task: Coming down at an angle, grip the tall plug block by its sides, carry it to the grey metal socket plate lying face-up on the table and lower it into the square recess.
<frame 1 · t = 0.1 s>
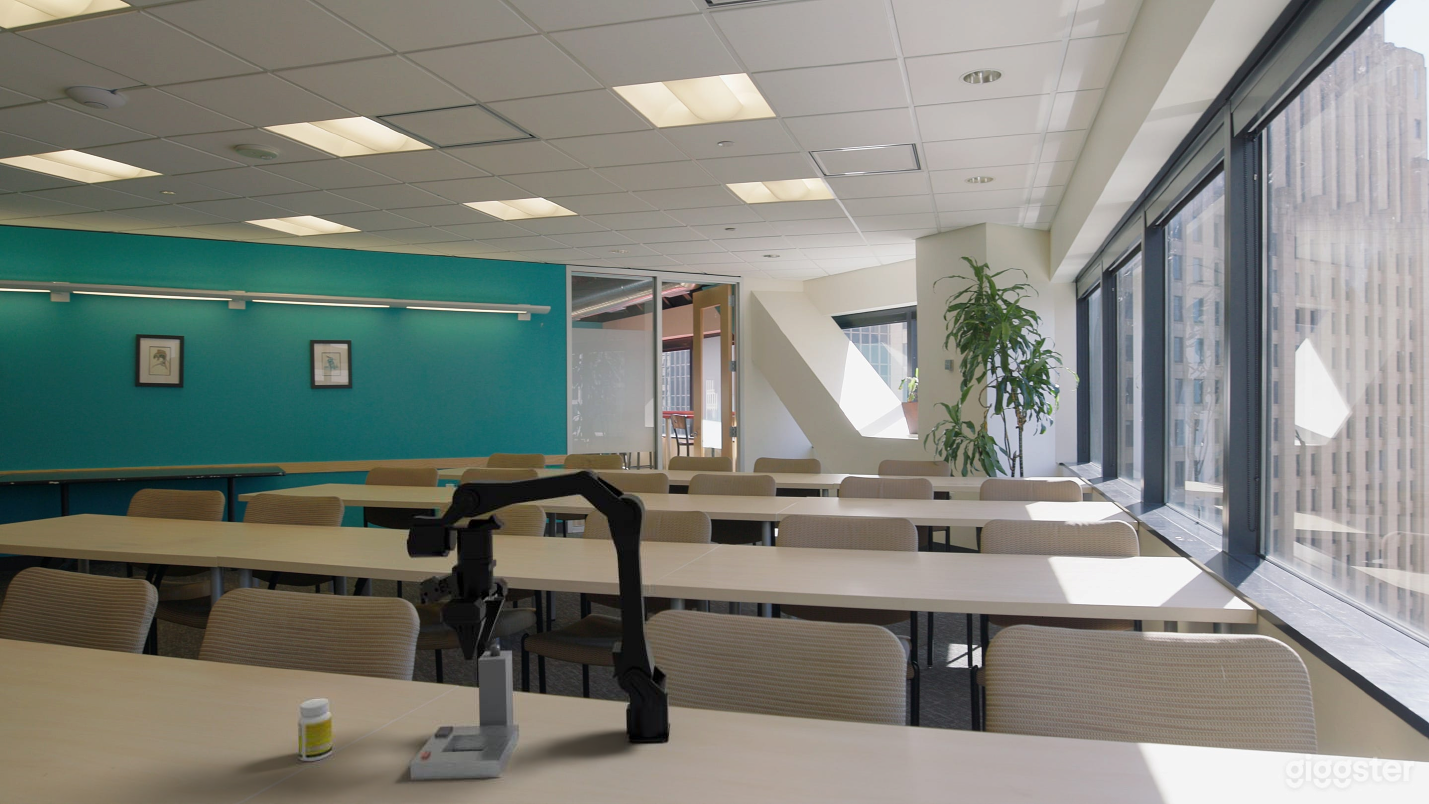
hand: (476, 651, 131), 15 cm above the table, tool pointing down, fingers open, 9 cm apart
supplement bottle: (315, 756, 126), on the table
socket: (467, 758, 124), on the table
plug: (497, 732, 134), on the table
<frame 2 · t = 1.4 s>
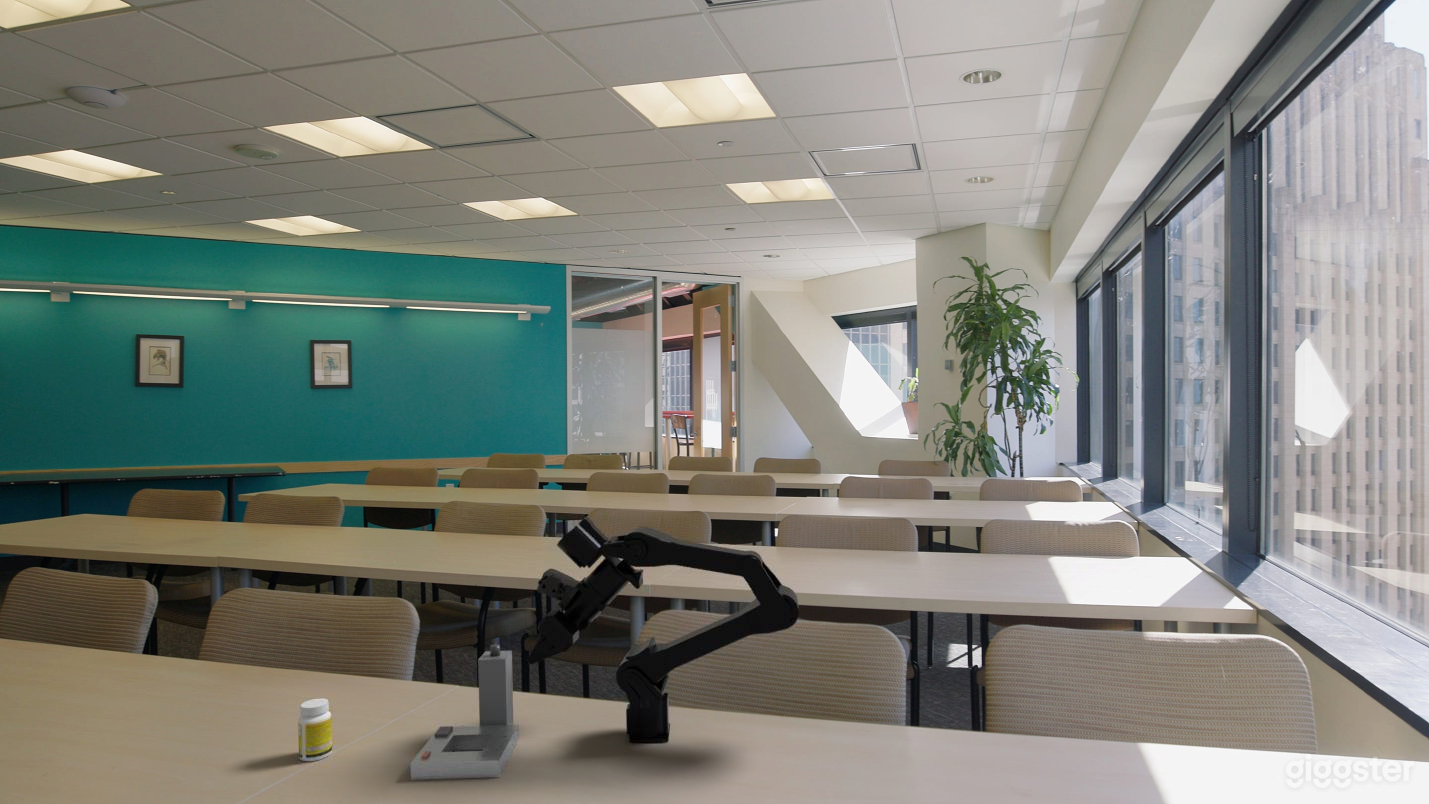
hand: (538, 653, 133), 13 cm above the table, tool tilted 45°, fingers open, 9 cm apart
nothing on the table moved.
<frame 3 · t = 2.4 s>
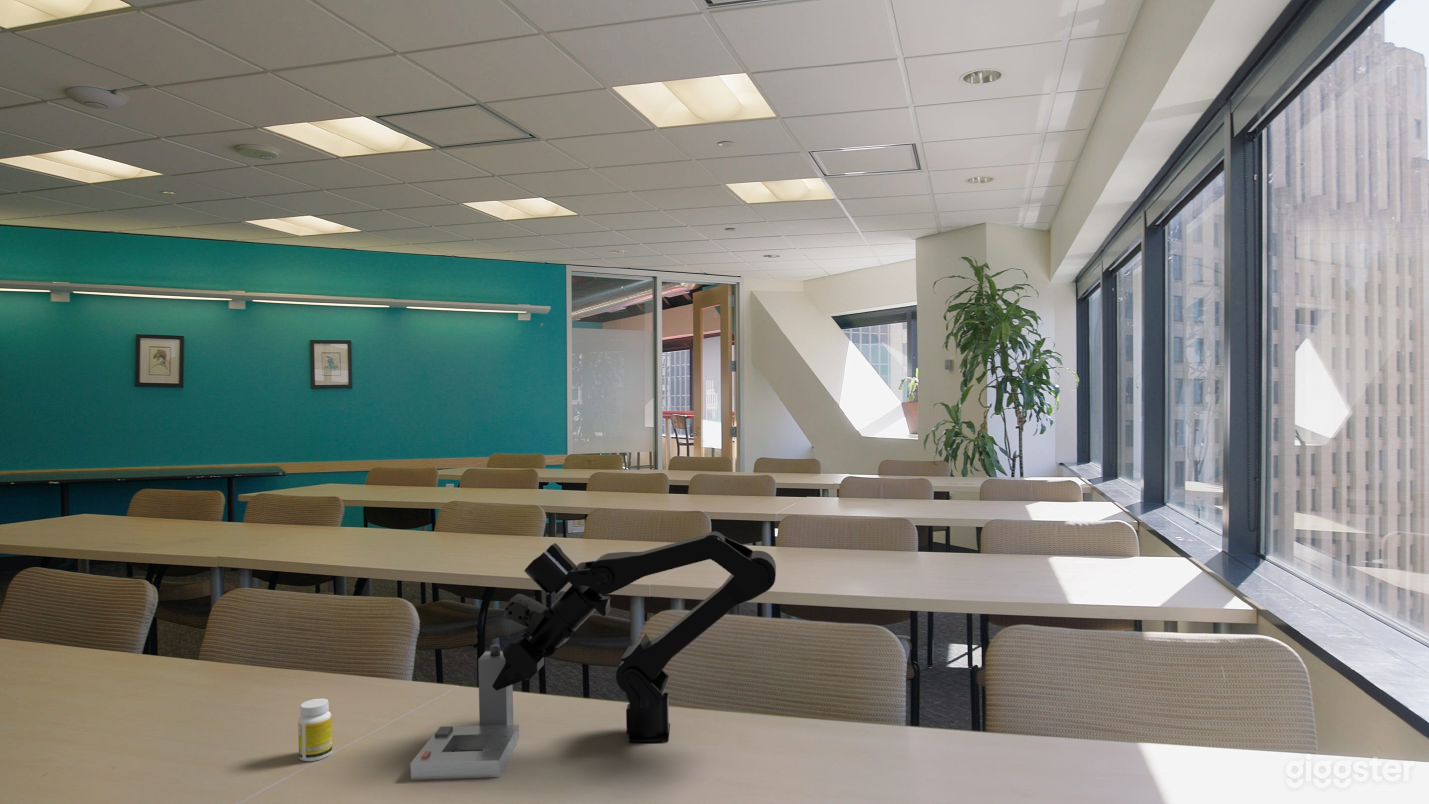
hand: (504, 678, 134), 9 cm above the table, tool tilted 45°, fingers open, 9 cm apart
nothing on the table moved.
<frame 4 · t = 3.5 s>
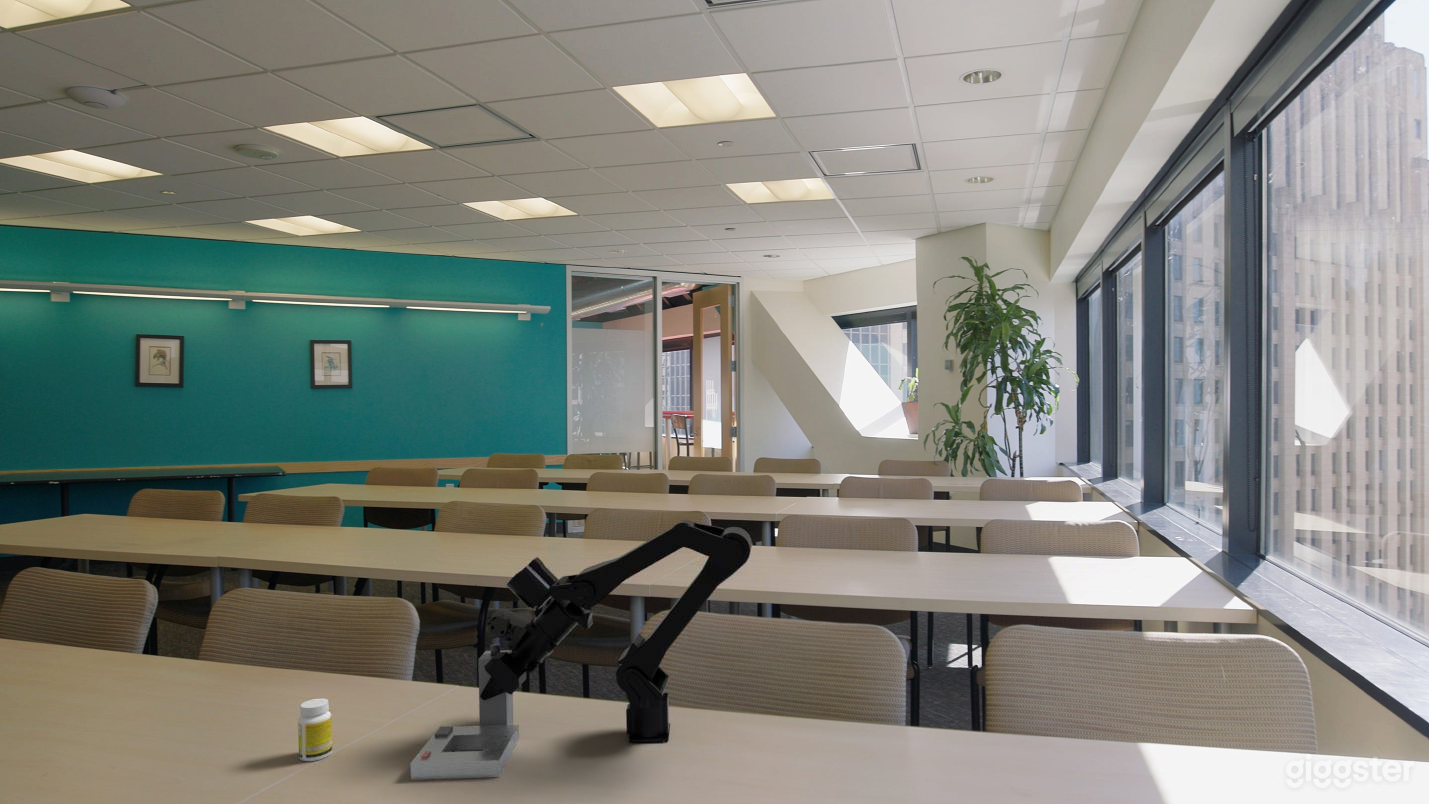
hand: (487, 692, 134), 7 cm above the table, tool tilted 45°, fingers closed on plug, 5 cm apart
plug: (496, 731, 134), on the table, touching gripper
everything else where it was.
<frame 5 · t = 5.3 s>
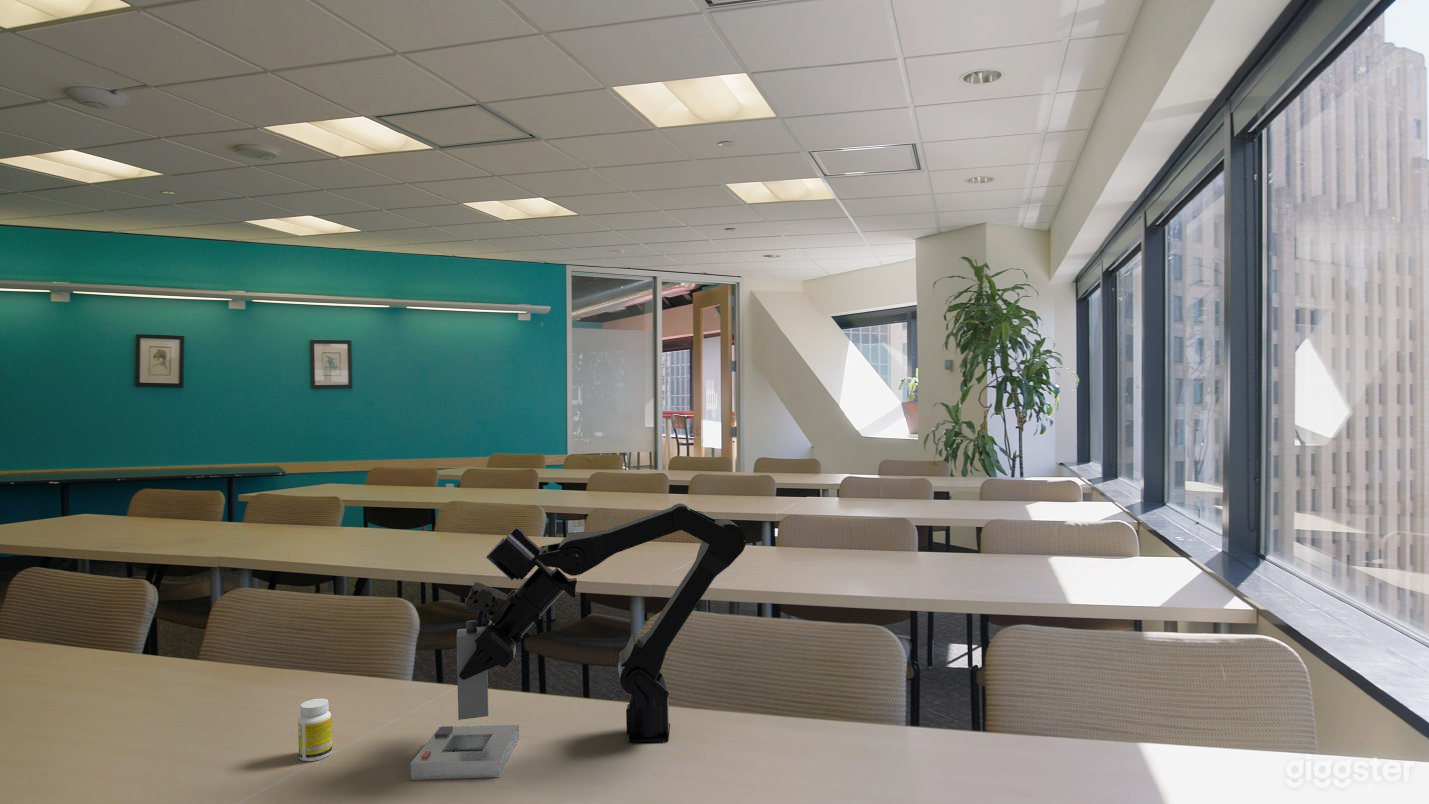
hand: (463, 672, 127), 13 cm above the table, tool tilted 45°, fingers closed on plug, 5 cm apart
plug: (473, 712, 127), point 6 cm above the table, touching gripper
everything else where it was.
when the fingers open (9 cm above the table, at t = 6.7 s): plug drops 2 cm, resting in socket.
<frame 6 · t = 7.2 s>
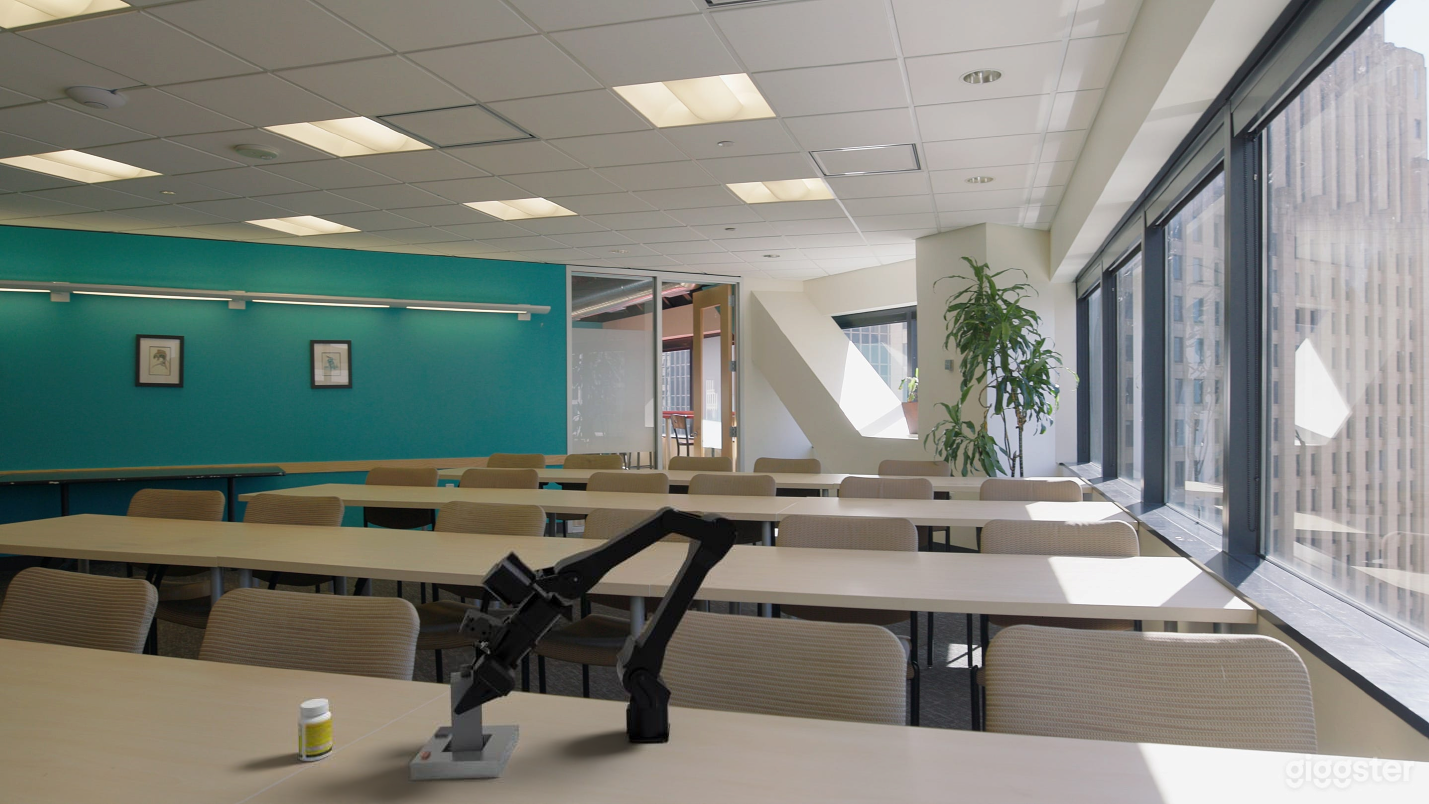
hand: (457, 702, 123), 9 cm above the table, tool tilted 45°, fingers open, 9 cm apart
plug: (468, 758, 124), resting in socket
everything else where it was.
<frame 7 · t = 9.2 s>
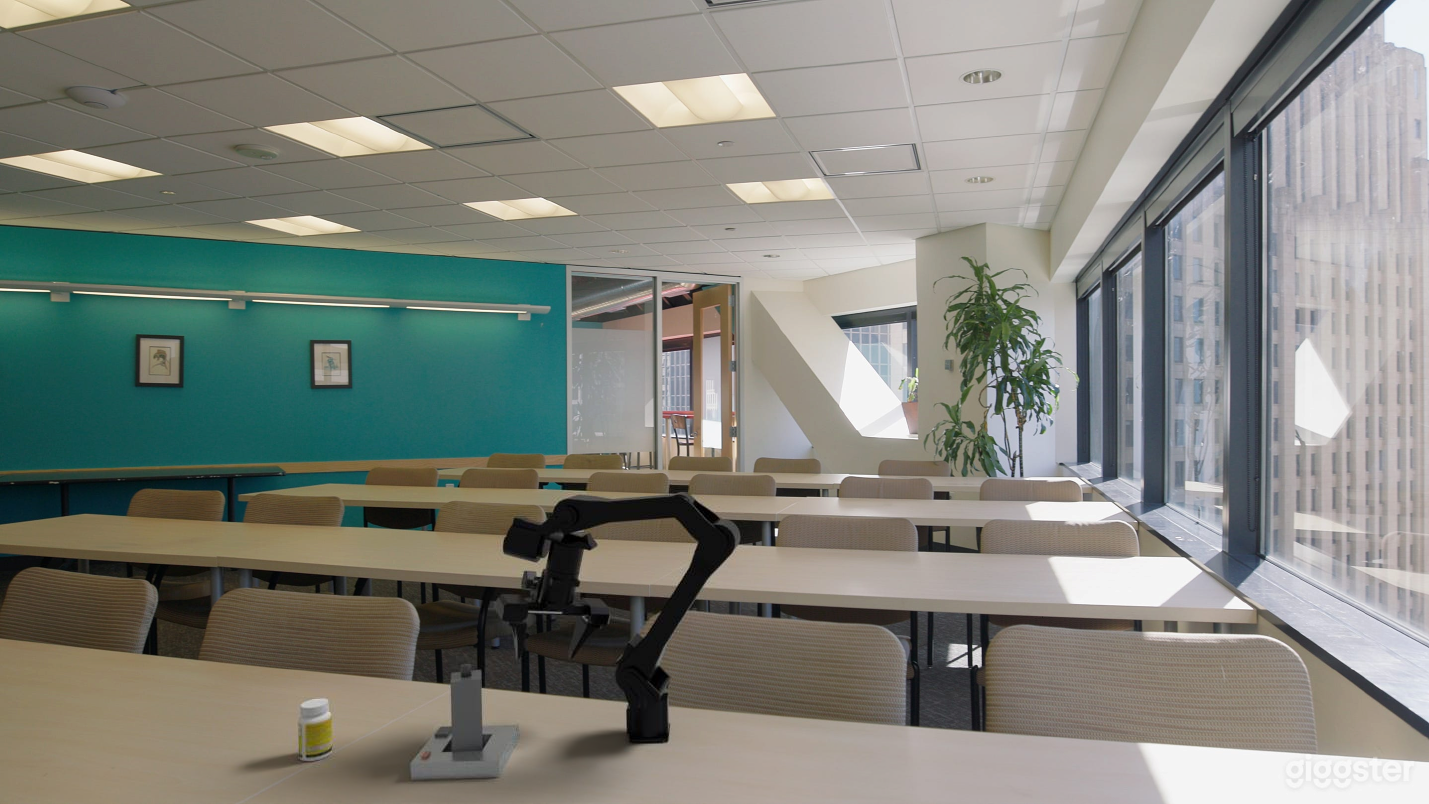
hand: (544, 658, 134), 12 cm above the table, tool pointing down, fingers open, 9 cm apart
nothing on the table moved.
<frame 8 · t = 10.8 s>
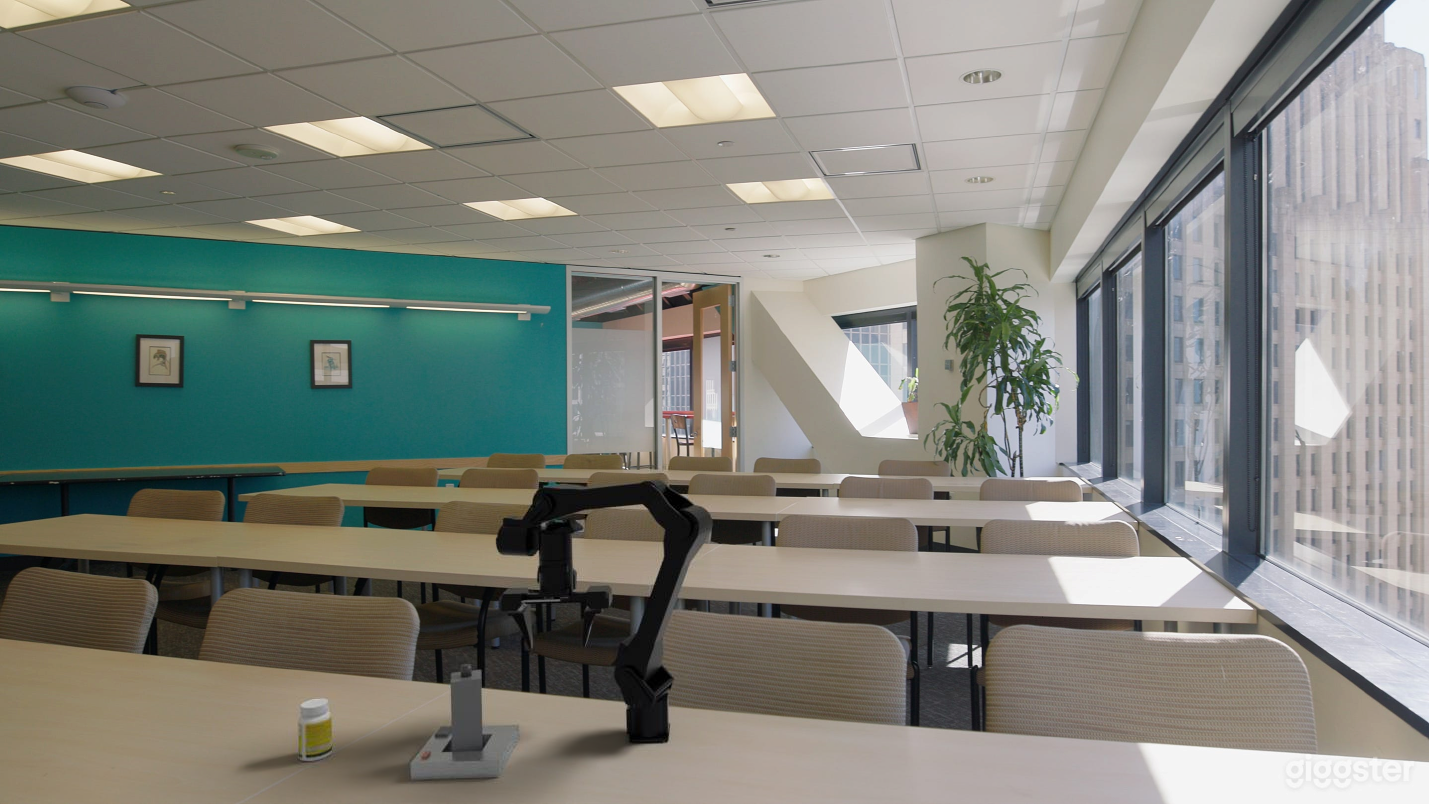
hand: (557, 647, 137), 13 cm above the table, tool pointing down, fingers open, 9 cm apart
nothing on the table moved.
at the end: plug 0.0 cm off-centre on the socket, point 0.0 cm above the socket's base; plug tilted 0°; the gripper is holding nothing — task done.
